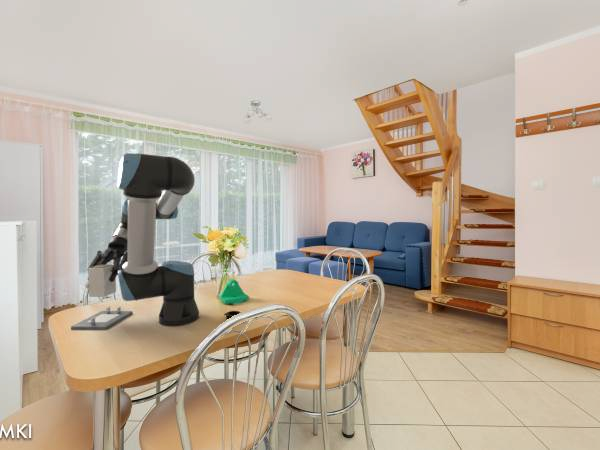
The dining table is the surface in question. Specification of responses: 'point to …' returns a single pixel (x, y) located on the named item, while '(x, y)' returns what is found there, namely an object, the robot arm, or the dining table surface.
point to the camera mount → (233, 293)
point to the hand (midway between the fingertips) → (96, 288)
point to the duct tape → (231, 314)
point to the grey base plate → (102, 319)
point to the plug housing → (100, 281)
